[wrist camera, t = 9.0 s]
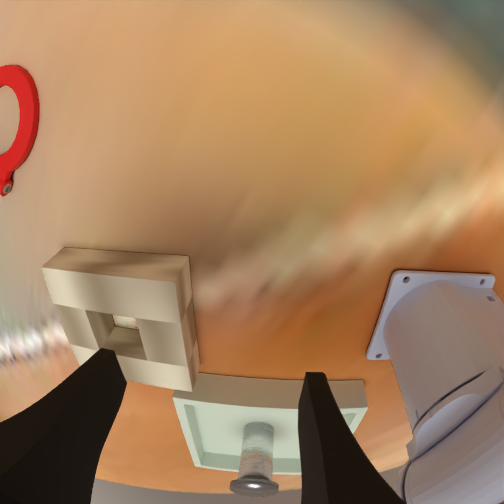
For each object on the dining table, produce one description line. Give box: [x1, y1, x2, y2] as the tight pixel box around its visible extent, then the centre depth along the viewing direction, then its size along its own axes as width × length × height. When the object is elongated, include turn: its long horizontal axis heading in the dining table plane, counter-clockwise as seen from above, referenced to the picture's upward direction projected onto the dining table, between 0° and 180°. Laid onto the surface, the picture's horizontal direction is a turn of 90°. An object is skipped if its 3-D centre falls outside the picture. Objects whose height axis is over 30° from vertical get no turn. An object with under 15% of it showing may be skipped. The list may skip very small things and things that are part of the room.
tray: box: [173, 373, 368, 475], centre depth 26 cm, size 16×16×3 cm
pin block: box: [41, 247, 200, 392], centre depth 20 cm, size 10×10×3 cm
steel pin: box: [230, 422, 279, 497], centre depth 23 cm, size 4×4×7 cm
